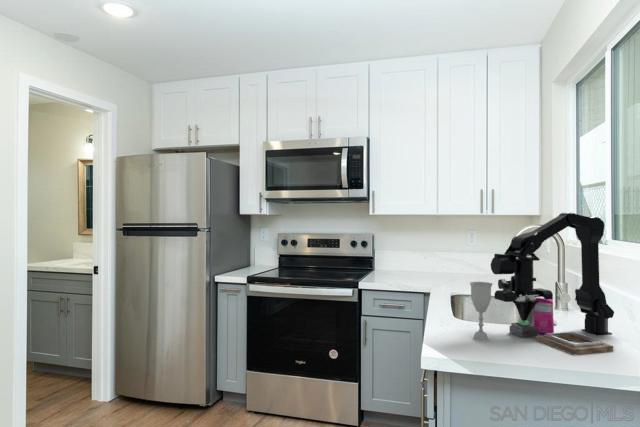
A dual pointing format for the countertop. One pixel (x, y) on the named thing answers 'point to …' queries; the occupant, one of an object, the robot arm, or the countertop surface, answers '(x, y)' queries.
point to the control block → (523, 330)
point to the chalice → (481, 305)
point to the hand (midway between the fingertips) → (523, 320)
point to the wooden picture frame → (584, 347)
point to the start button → (523, 323)
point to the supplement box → (544, 316)
